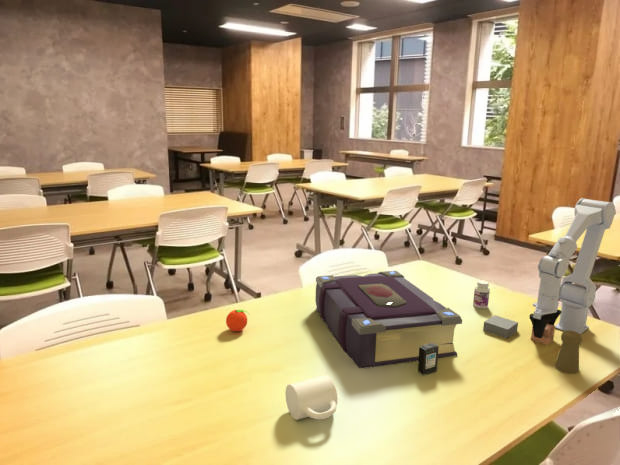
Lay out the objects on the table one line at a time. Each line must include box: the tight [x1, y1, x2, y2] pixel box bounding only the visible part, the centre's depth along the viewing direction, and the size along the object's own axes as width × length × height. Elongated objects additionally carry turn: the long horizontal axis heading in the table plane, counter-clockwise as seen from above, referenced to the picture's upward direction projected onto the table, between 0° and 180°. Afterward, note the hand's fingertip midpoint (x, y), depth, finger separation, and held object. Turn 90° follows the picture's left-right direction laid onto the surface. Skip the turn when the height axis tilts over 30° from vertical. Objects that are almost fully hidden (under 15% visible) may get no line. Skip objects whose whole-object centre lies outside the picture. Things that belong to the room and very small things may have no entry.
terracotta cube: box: [530, 324, 556, 346], centre depth 148 cm, size 5×5×5 cm
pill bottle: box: [472, 280, 491, 309], centre depth 174 cm, size 5×5×10 cm
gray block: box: [482, 314, 519, 339], centre depth 154 cm, size 8×8×4 cm
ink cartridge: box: [417, 343, 439, 376], centre depth 127 cm, size 5×2×8 cm, turn 117°
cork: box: [554, 331, 583, 375], centre depth 130 cm, size 6×6×11 cm
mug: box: [285, 374, 338, 421], centre depth 107 cm, size 12×10×8 cm
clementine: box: [225, 309, 249, 332], centre depth 151 cm, size 8×7×7 cm
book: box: [315, 270, 463, 369], centre depth 152 cm, size 33×45×14 cm
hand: (542, 333), depth 148 cm, fingers open, 7 cm apart
